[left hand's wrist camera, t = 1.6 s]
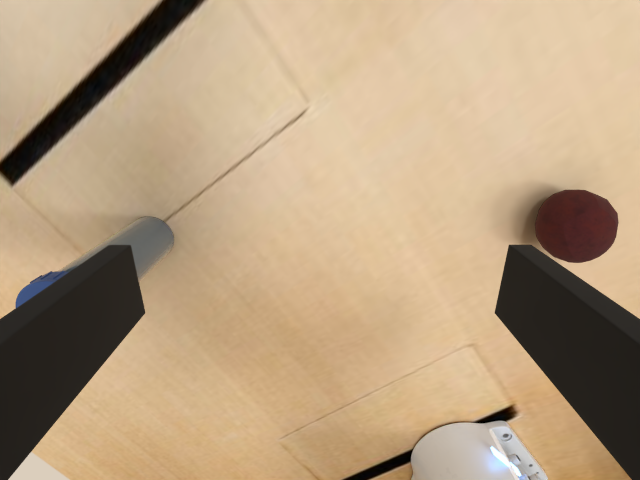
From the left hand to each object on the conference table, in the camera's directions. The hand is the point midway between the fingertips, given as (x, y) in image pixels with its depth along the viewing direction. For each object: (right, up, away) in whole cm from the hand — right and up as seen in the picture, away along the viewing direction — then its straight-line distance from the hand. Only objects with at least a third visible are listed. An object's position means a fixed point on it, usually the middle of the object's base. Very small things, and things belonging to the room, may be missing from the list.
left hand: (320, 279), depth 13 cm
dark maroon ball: (+27, +4, +28) cm, 39 cm away
